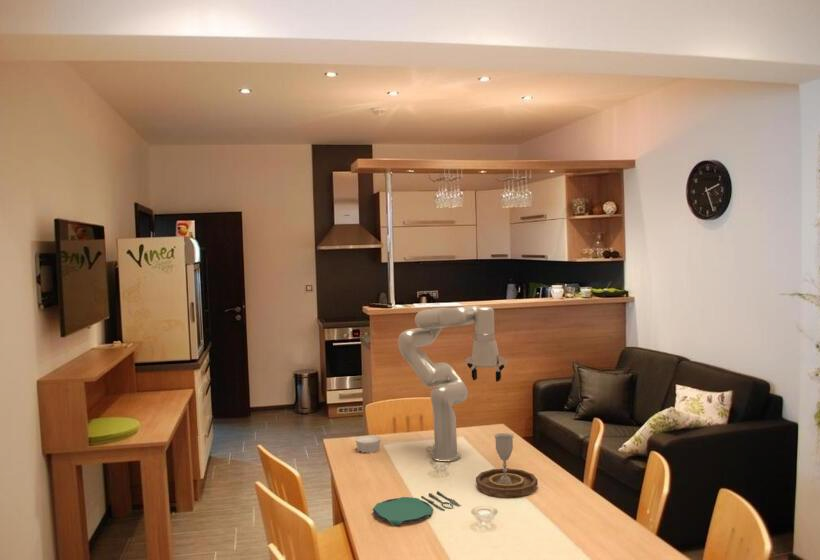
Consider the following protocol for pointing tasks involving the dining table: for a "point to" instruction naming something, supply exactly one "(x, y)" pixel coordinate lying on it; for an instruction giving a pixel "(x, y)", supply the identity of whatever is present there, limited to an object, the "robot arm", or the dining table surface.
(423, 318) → the robot arm
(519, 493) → the tray
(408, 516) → the cutlery set
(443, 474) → the dining table surface
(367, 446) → the ramekin
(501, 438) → the chalice
